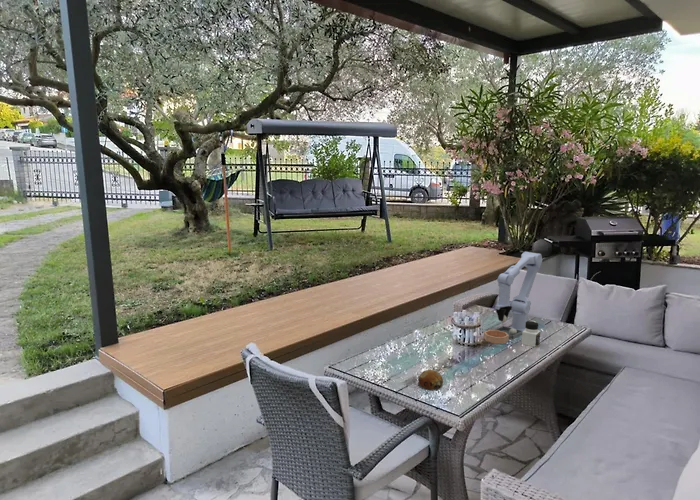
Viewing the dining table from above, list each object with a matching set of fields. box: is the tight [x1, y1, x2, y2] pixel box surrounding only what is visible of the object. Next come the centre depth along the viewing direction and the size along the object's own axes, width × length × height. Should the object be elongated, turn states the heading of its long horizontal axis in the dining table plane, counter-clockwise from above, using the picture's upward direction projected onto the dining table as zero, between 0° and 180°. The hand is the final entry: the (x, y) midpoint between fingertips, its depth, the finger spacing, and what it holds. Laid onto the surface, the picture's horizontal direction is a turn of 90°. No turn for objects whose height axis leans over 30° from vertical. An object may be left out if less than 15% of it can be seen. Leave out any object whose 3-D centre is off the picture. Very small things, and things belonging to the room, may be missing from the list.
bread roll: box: [418, 369, 444, 390], centre depth 197 cm, size 10×10×8 cm
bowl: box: [483, 329, 510, 345], centre depth 249 cm, size 12×12×4 cm
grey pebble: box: [509, 328, 517, 336], centre depth 256 cm, size 4×4×4 cm
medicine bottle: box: [521, 320, 541, 348], centre depth 243 cm, size 7×7×12 cm
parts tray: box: [494, 325, 524, 341], centre depth 258 cm, size 12×12×2 cm
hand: (502, 319), depth 258 cm, fingers closed on cream pebble, 4 cm apart
